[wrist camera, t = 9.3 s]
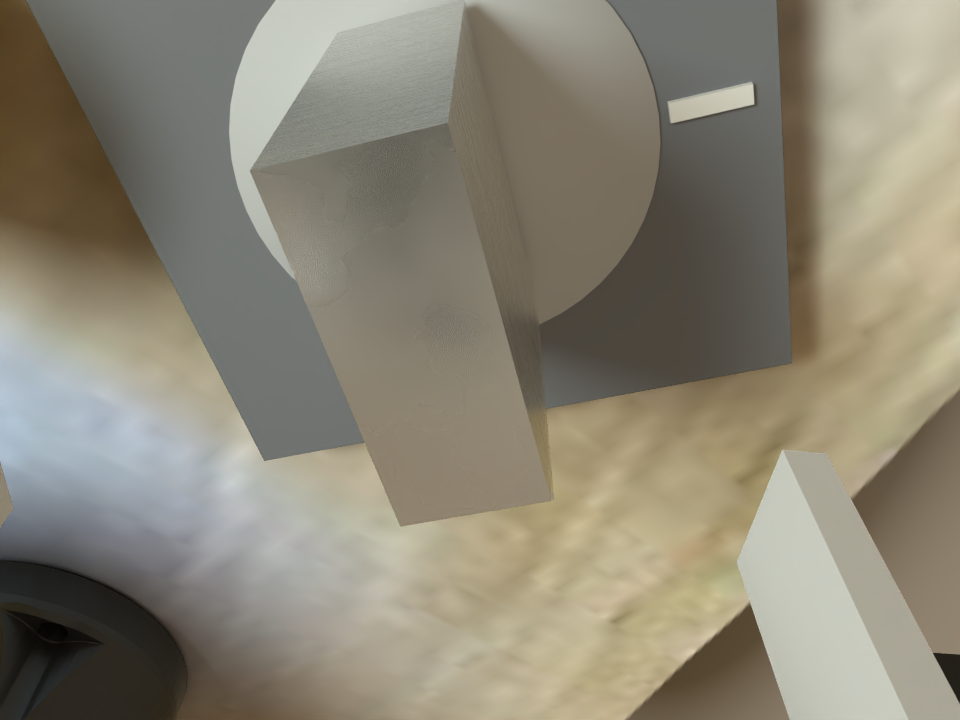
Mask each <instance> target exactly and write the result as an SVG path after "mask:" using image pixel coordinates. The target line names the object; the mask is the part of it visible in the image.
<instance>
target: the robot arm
mask: <svg viewBox="0 0 960 720" xmlns="http://www.w3.org/2000/svg"><path fill="white" fill-rule="evenodd" d="M12 510H13V506H12V502H11V499H10V495H9V492H8V488H7V485H6V481H5V478H4V474H3V470H2V467H1V463H0V528H1V526H2V525H3V523H4V522H5V520H6V519H7V517H8V516H9V514H10V513H11V511H12ZM737 565H738V568H739V571H740V574H741V577H742V580H743V583H744V586H745V589H746V591H747V594H748V597H749V600H750V603H751V606H752V609H753V612H754V615H755V618H756V621H757V624H758V627H759V630H760V632H761V635H762V638H763V642H764V645H765V648H766V651H767V653H768V656H769V659H770V662H771V665H772V668H773V671H774V674H775V677H776V680H777V683H778V686H779V689H780V692H781V695H782V698H783V701H784V704H785V707H786V709H787V713H788V716H789V719H790V720H960V655H956V654H941V653H932V651H931V649H930V647H929V645H928V643H927V642H926V640H925V638H924V636H923V634H922V632H921V630H920V628H919V626H918V624H917V623H916V621H915V619H914V617H913V615H912V613H911V611H910V609H909V608H908V606H907V604H906V602H905V600H904V598H903V596H902V594H901V592H900V591H899V589H898V587H897V585H896V583H895V581H894V580H893V578H892V576H891V574H890V572H889V570H888V568H887V566H886V564H885V562H884V561H883V559H882V557H881V555H880V553H879V551H878V549H877V547H876V545H875V544H874V542H873V540H872V538H871V536H870V535H869V532H868V531H867V529H866V527H865V525H864V523H863V521H862V519H861V517H860V515H859V514H858V512H857V510H856V508H855V506H854V504H853V502H852V500H851V498H850V497H849V495H848V493H847V491H846V489H845V487H844V485H843V483H842V482H841V480H840V478H839V476H838V474H837V472H836V470H835V468H834V466H833V465H832V463H831V461H830V459H829V457H828V455H827V453H818V452H806V451H794V450H782V452H781V454H780V457H779V459H778V462H777V464H776V466H775V469H774V471H773V474H772V476H771V479H770V481H769V484H768V486H767V489H766V491H765V494H764V496H763V499H762V501H761V504H760V506H759V509H758V511H757V513H756V516H755V518H754V521H753V523H752V526H751V528H750V531H749V533H748V536H747V538H746V541H745V543H744V546H743V548H742V551H741V553H740V555H739V558H738V560H737ZM186 687H187V671H186V666H185V663H184V659H183V657H182V655H181V652H180V651H179V649H178V647H177V645H176V644H175V642H174V641H173V639H172V638H171V637H170V635H169V634H168V633H167V632H166V630H165V629H164V628H163V627H162V626H161V625H160V624H159V623H158V622H157V621H156V620H155V619H154V618H152V617H151V616H150V615H149V614H148V613H146V612H145V611H144V610H142V609H141V608H140V607H138V606H137V605H136V604H134V603H133V602H131V601H130V600H128V599H126V598H125V597H123V596H121V595H119V594H118V593H116V592H114V591H112V590H110V589H108V588H106V587H104V586H102V585H100V584H97V583H95V582H92V581H90V580H88V579H85V578H82V577H79V576H77V575H74V574H70V573H67V572H64V571H60V570H57V569H53V568H49V567H44V566H39V565H34V564H28V563H20V562H11V561H0V720H176V718H177V715H178V712H179V709H180V706H181V703H182V700H183V697H184V694H185V691H186Z"/></svg>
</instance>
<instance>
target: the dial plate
mask: <svg viewBox="0 0 960 720" xmlns="http://www.w3.org/2000/svg"><path fill="white" fill-rule="evenodd" d="M455 1H458V0H26V2H27V4H28V5H29V7H30V9H31V11H32V13H33V15H34V17H35V19H36V21H37V23H38V25H39V27H40V29H41V31H42V33H43V34H44V36H45V38H46V40H47V42H48V44H49V46H50V48H51V50H52V52H53V54H54V56H55V58H56V60H57V61H58V63H59V65H60V67H61V69H62V71H63V73H64V75H65V77H66V79H67V81H68V83H69V85H70V87H71V88H72V90H73V92H74V94H75V96H76V98H77V100H78V102H79V104H80V106H81V108H82V110H83V112H84V114H85V116H86V117H87V119H88V121H89V123H90V125H91V127H92V129H93V131H94V133H95V135H96V137H97V139H98V141H99V143H100V144H101V146H102V148H103V150H104V152H105V154H106V156H107V158H108V160H109V162H110V164H111V166H112V168H113V170H114V171H115V173H116V175H117V177H118V179H119V181H120V183H121V185H122V187H123V189H124V191H125V193H126V195H127V197H128V199H129V200H130V202H131V204H132V206H133V208H134V210H135V212H136V214H137V216H138V218H139V220H140V222H141V224H142V226H143V227H144V229H145V231H146V233H147V235H148V237H149V239H150V241H151V243H152V245H153V247H154V249H155V251H156V253H157V254H158V256H159V258H160V260H161V262H162V264H163V266H164V268H165V270H166V272H167V274H168V276H169V278H170V280H171V281H172V283H173V285H174V287H175V289H176V291H177V293H178V295H179V297H180V299H181V301H182V303H183V305H184V307H185V309H186V310H187V312H188V314H189V316H190V318H191V320H192V322H193V324H194V326H195V328H196V330H197V332H198V334H199V336H200V337H201V339H202V341H203V343H204V345H205V347H206V349H207V351H208V353H209V355H210V357H211V359H212V361H213V363H214V364H215V366H216V368H217V370H218V372H219V374H220V376H221V378H222V380H223V382H224V384H225V386H226V388H227V390H228V392H229V393H230V395H231V397H232V399H233V401H234V403H235V405H236V407H237V409H238V411H239V413H240V415H241V417H242V419H243V420H244V422H245V424H246V426H247V428H248V430H249V432H250V434H251V436H252V438H253V440H254V442H255V444H256V446H257V447H258V449H259V451H260V453H261V455H262V457H263V459H264V461H266V460H271V459H277V458H282V457H288V456H293V455H298V454H304V453H309V452H315V451H320V450H325V449H331V448H336V447H342V446H347V445H353V444H358V443H363V442H364V439H363V437H362V435H361V432H360V430H359V428H358V425H357V423H356V420H355V418H354V416H353V413H352V411H351V409H350V406H349V404H348V402H347V399H346V397H345V394H344V392H343V390H342V387H341V385H340V383H339V380H338V378H337V376H336V373H335V371H334V369H333V366H332V364H331V361H330V359H329V357H328V354H327V352H326V350H325V347H324V345H323V343H322V340H321V338H320V336H319V333H318V331H317V328H316V326H315V324H314V321H313V319H312V317H311V314H310V312H309V310H308V307H307V305H306V303H305V300H304V298H303V295H302V293H301V291H300V288H299V286H298V284H297V281H296V279H295V277H294V274H293V272H292V269H291V267H290V265H289V262H288V260H287V258H286V255H285V253H284V251H283V248H282V246H281V244H280V241H279V239H278V236H277V234H276V232H275V229H274V227H273V225H272V222H271V220H270V218H269V215H268V213H267V211H266V208H265V206H264V203H263V201H262V199H261V196H260V194H259V192H258V189H257V187H256V185H255V182H254V180H253V177H252V175H251V173H250V169H251V168H252V166H253V165H254V163H255V162H256V160H257V158H258V157H259V155H260V154H261V152H262V151H263V149H264V147H265V146H266V144H267V143H268V141H269V140H270V138H271V136H272V135H273V133H274V132H275V130H276V128H277V127H278V125H279V124H280V122H281V121H282V119H283V117H284V116H285V114H286V113H287V111H288V110H289V108H290V106H291V105H292V103H293V102H294V100H295V99H296V97H297V95H298V94H299V92H300V91H301V89H302V88H303V86H304V84H305V83H306V81H307V80H308V78H309V77H310V75H311V73H312V72H313V70H314V69H315V67H316V66H317V64H318V62H319V61H320V59H321V58H322V56H323V54H324V53H325V51H326V50H327V48H328V47H329V45H330V43H331V42H332V40H333V39H334V37H335V36H336V34H337V32H341V31H345V30H348V29H352V28H356V27H360V26H364V25H367V24H371V23H375V22H379V21H383V20H386V19H390V18H394V17H398V16H401V15H405V14H409V13H413V12H417V11H420V10H424V9H428V8H432V7H436V6H439V5H443V4H447V3H451V2H455ZM465 2H466V6H467V11H468V15H469V19H470V23H471V27H472V31H473V35H474V39H475V44H476V48H477V52H478V56H479V60H480V64H481V68H482V73H483V77H484V81H485V85H486V89H487V93H488V97H489V102H490V106H491V110H492V114H493V118H494V122H495V126H496V130H497V135H498V139H499V143H500V147H501V151H502V155H503V159H504V164H505V168H506V172H507V176H508V180H509V184H510V188H511V192H512V197H513V201H514V205H515V209H516V213H517V217H518V221H519V226H520V230H521V234H522V238H523V242H524V246H525V250H526V255H527V259H528V263H529V267H530V271H531V275H532V279H533V283H534V293H535V297H536V301H537V306H538V318H539V330H540V342H541V353H542V365H543V377H544V388H545V400H546V409H547V408H553V407H558V406H564V405H569V404H574V403H580V402H585V401H591V400H596V399H602V398H607V397H612V396H618V395H623V394H629V393H634V392H639V391H645V390H650V389H656V388H661V387H666V386H672V385H677V384H683V383H688V382H694V381H699V380H704V379H710V378H715V377H721V376H726V375H731V374H737V373H742V372H748V371H753V370H758V369H764V368H769V367H775V366H780V365H786V364H791V363H792V350H791V326H790V303H789V279H788V256H787V233H786V209H785V186H784V162H783V139H782V115H781V92H780V69H779V45H778V22H777V0H465Z"/></svg>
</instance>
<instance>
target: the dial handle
mask: <svg viewBox="0 0 960 720" xmlns="http://www.w3.org/2000/svg"><path fill="white" fill-rule="evenodd" d="M250 173H251V175H252V177H253V180H254V182H255V185H256V187H257V189H258V192H259V194H260V196H261V199H262V201H263V203H264V206H265V208H266V211H267V213H268V215H269V218H270V220H271V222H272V225H273V227H274V229H275V232H276V234H277V236H278V239H279V241H280V244H281V246H282V248H283V251H284V253H285V255H286V258H287V260H288V262H289V265H290V267H291V269H292V272H293V274H294V277H295V279H296V281H297V284H298V286H299V288H300V291H301V293H302V295H303V298H304V300H305V303H306V305H307V307H308V310H309V312H310V314H311V317H312V319H313V321H314V324H315V326H316V328H317V331H318V333H319V336H320V338H321V340H322V343H323V345H324V347H325V350H326V352H327V354H328V357H329V359H330V361H331V364H332V366H333V369H334V371H335V373H336V376H337V378H338V380H339V383H340V385H341V387H342V390H343V392H344V394H345V397H346V399H347V402H348V404H349V406H350V409H351V411H352V413H353V416H354V418H355V420H356V423H357V425H358V428H359V430H360V432H361V435H362V437H363V439H364V442H365V444H366V446H367V449H368V451H369V453H370V456H371V458H372V461H373V463H374V465H375V468H376V470H377V472H378V475H379V477H380V479H381V482H382V484H383V486H384V489H385V491H386V494H387V496H388V498H389V501H390V503H391V505H392V508H393V510H394V512H395V515H396V517H397V519H398V522H399V524H400V526H406V525H412V524H418V523H424V522H429V521H435V520H441V519H447V518H453V517H459V516H465V515H471V514H477V513H483V512H488V511H494V510H500V509H506V508H512V507H518V506H524V505H530V504H536V503H542V502H547V501H551V500H553V499H554V494H553V482H552V470H551V459H550V447H549V435H548V424H547V412H546V400H545V388H544V377H543V365H542V353H541V342H540V330H539V318H538V306H537V301H536V297H535V293H534V283H533V279H532V275H531V271H530V267H529V263H528V259H527V255H526V250H525V246H524V242H523V238H522V234H521V230H520V226H519V221H518V217H517V213H516V209H515V205H514V201H513V197H512V192H511V188H510V184H509V180H508V176H507V172H506V168H505V164H504V159H503V155H502V151H501V147H500V143H499V139H498V135H497V130H496V126H495V122H494V118H493V114H492V110H491V106H490V102H489V97H488V93H487V89H486V85H485V81H484V77H483V73H482V68H481V64H480V60H479V56H478V52H477V48H476V44H475V39H474V35H473V31H472V27H471V23H470V19H469V15H468V11H467V6H466V2H465V0H458V1H455V2H451V3H447V4H443V5H439V6H436V7H432V8H428V9H424V10H420V11H417V12H413V13H409V14H405V15H401V16H398V17H394V18H390V19H386V20H383V21H379V22H375V23H371V24H367V25H364V26H360V27H356V28H352V29H348V30H345V31H341V32H337V34H336V36H335V37H334V39H333V40H332V42H331V43H330V45H329V47H328V48H327V50H326V51H325V53H324V54H323V56H322V58H321V59H320V61H319V62H318V64H317V66H316V67H315V69H314V70H313V72H312V73H311V75H310V77H309V78H308V80H307V81H306V83H305V84H304V86H303V88H302V89H301V91H300V92H299V94H298V95H297V97H296V99H295V100H294V102H293V103H292V105H291V106H290V108H289V110H288V111H287V113H286V114H285V116H284V117H283V119H282V121H281V122H280V124H279V125H278V127H277V128H276V130H275V132H274V133H273V135H272V136H271V138H270V140H269V141H268V143H267V144H266V146H265V147H264V149H263V151H262V152H261V154H260V155H259V157H258V158H257V160H256V162H255V163H254V165H253V166H252V168H251V169H250Z"/></svg>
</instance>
